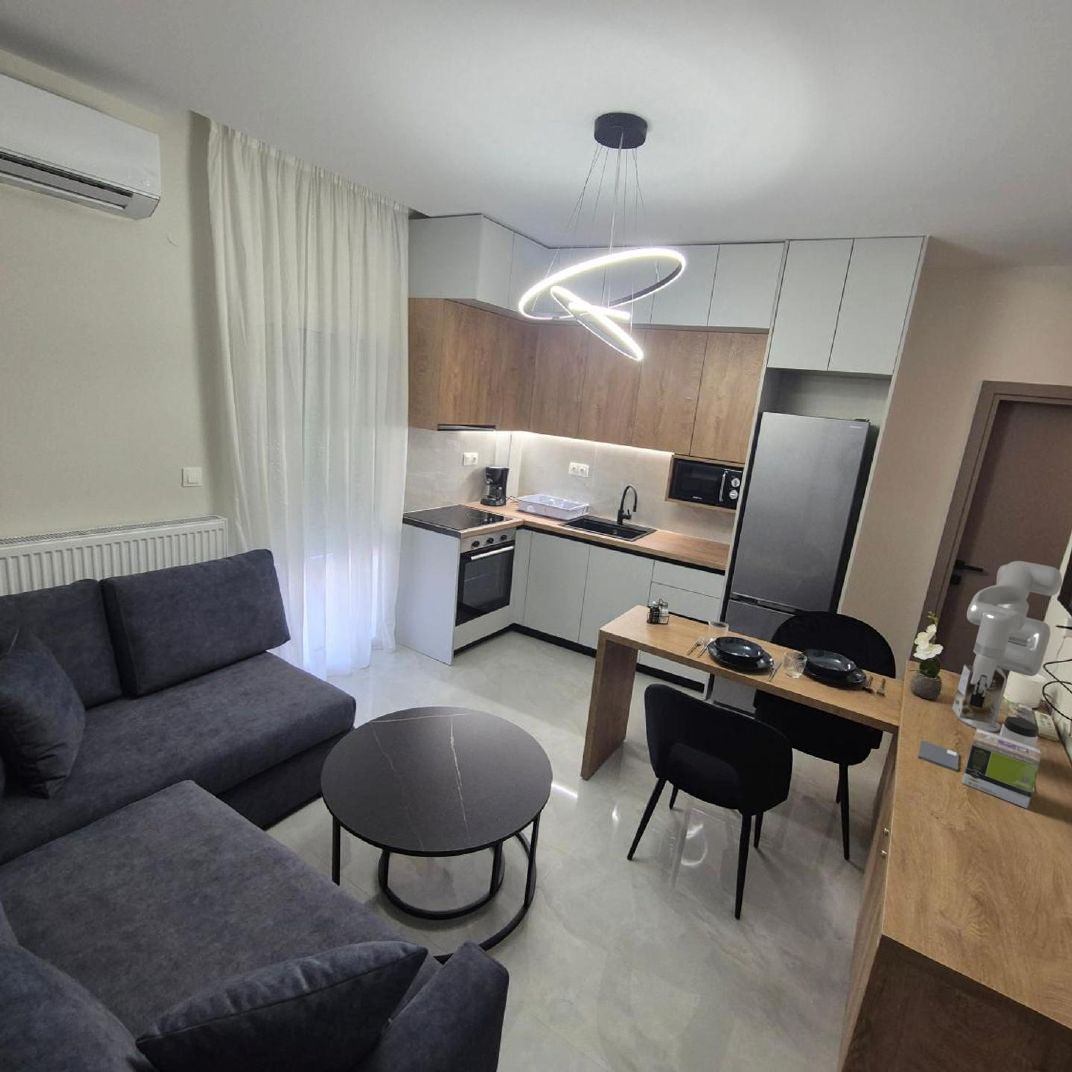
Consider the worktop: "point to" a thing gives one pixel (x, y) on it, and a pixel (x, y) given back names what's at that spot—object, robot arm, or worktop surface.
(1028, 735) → the jar
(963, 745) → the worktop surface
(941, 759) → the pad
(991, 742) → the tea box
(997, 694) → the coffee box
